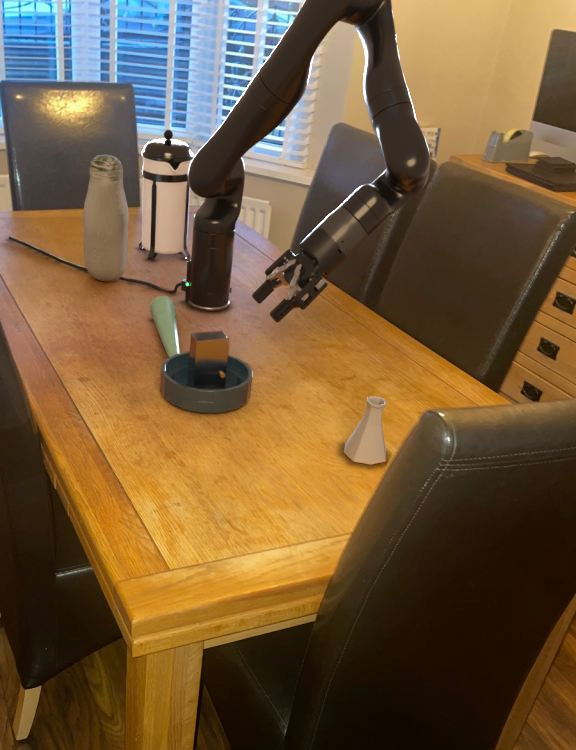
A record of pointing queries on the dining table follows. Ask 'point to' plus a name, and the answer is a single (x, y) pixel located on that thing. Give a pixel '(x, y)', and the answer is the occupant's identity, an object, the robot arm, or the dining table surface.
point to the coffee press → (165, 196)
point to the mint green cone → (166, 323)
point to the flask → (368, 435)
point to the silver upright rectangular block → (208, 360)
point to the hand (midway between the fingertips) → (263, 309)
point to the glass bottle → (105, 220)
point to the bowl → (204, 399)
